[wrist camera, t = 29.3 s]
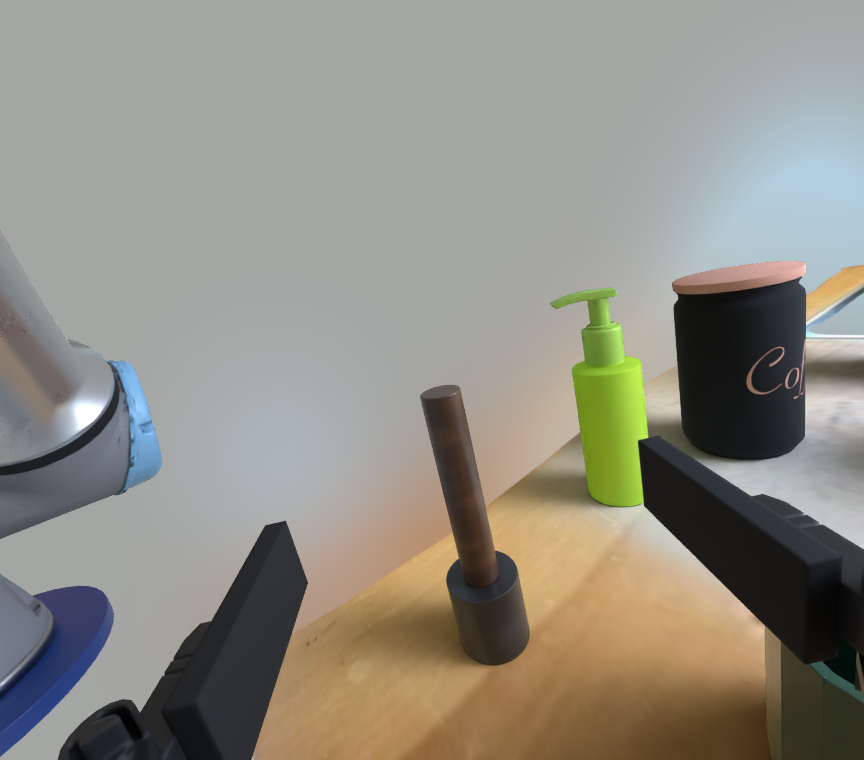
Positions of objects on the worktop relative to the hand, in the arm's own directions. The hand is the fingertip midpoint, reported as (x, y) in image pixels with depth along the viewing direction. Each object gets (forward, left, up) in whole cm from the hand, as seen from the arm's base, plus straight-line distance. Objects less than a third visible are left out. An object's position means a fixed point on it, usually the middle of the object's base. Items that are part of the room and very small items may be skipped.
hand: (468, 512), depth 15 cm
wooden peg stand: (0, +10, -16) cm, 19 cm away
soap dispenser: (+15, +23, -16) cm, 32 cm away
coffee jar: (+31, +27, -16) cm, 44 cm away
